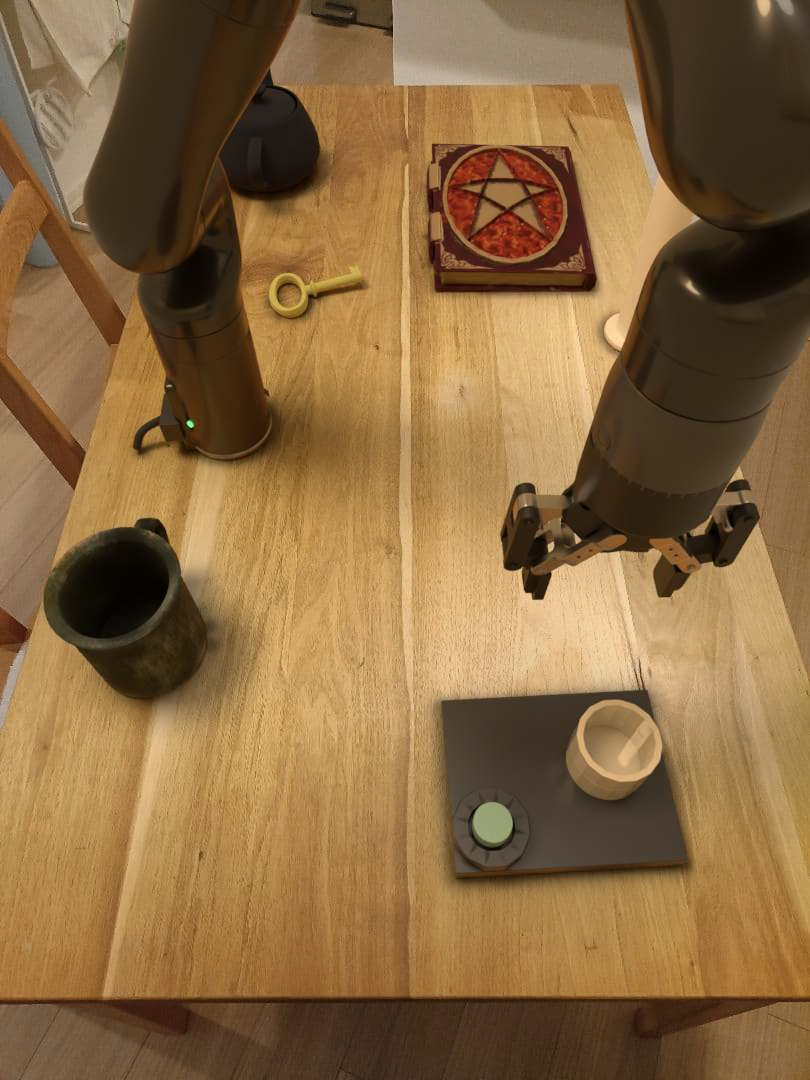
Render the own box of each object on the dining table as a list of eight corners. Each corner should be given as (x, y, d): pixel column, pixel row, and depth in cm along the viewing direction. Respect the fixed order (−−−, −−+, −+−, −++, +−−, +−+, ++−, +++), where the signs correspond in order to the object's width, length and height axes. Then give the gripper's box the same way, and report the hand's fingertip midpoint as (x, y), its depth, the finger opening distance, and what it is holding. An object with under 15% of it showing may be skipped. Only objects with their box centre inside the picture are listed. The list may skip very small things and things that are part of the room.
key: (368, 286, 99) (367, 272, 97) (284, 323, 95) (281, 309, 94) (340, 257, 102) (339, 243, 100) (257, 291, 99) (254, 278, 97)
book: (592, 294, 98) (601, 261, 94) (428, 292, 98) (430, 259, 94) (567, 167, 114) (574, 134, 110) (425, 165, 114) (426, 131, 109)
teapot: (319, 219, 107) (309, 132, 96) (207, 222, 107) (185, 135, 96) (325, 121, 120) (316, 36, 110) (226, 124, 120) (208, 38, 110)
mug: (79, 701, 69) (22, 644, 59) (123, 562, 77) (78, 490, 67) (199, 708, 68) (161, 652, 58) (230, 568, 76) (202, 496, 66)
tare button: (473, 848, 59) (475, 844, 57) (469, 808, 60) (471, 802, 59) (512, 846, 59) (515, 841, 57) (508, 806, 60) (510, 800, 59)
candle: (661, 359, 91) (735, 156, 70) (601, 351, 92) (657, 148, 71) (663, 319, 95) (733, 115, 74) (605, 312, 96) (658, 108, 75)
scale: (454, 878, 60) (456, 870, 58) (440, 708, 68) (441, 693, 65) (680, 865, 61) (694, 856, 58) (642, 697, 68) (652, 682, 65)
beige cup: (572, 802, 62) (585, 783, 57) (560, 725, 65) (571, 701, 61) (651, 798, 62) (670, 779, 57) (634, 721, 65) (651, 697, 61)
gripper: (787, 374, 41) (688, 539, 54) (520, 377, 40) (488, 542, 54) (833, 488, 37) (714, 635, 50) (536, 492, 36) (498, 639, 50)
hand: (597, 587), depth 52 cm, fingers open, 8 cm apart
